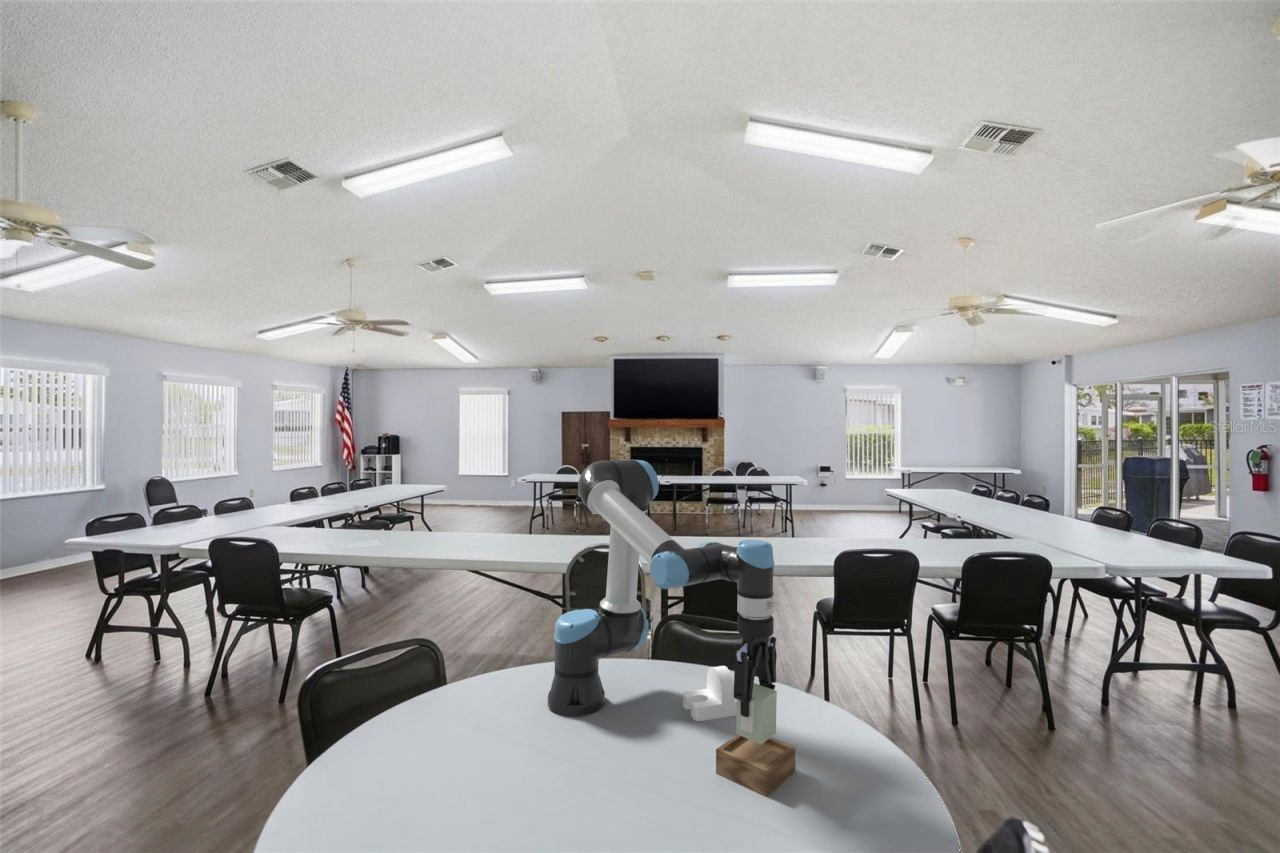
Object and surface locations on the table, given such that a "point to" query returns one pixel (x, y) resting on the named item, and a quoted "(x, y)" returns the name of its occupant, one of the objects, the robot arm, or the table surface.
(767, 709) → the green block
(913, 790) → the table surface
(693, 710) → the white slotted block
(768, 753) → the brown crate
